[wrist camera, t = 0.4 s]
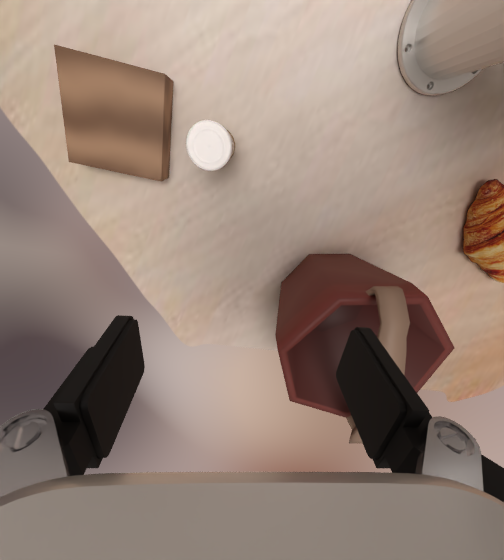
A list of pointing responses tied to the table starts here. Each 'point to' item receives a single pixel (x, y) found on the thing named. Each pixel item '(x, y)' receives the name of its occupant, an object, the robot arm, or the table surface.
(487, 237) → the croissant
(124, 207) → the table surface
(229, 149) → the sprinkles bottle
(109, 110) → the walnut plinth
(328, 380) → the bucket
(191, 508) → the robot arm
